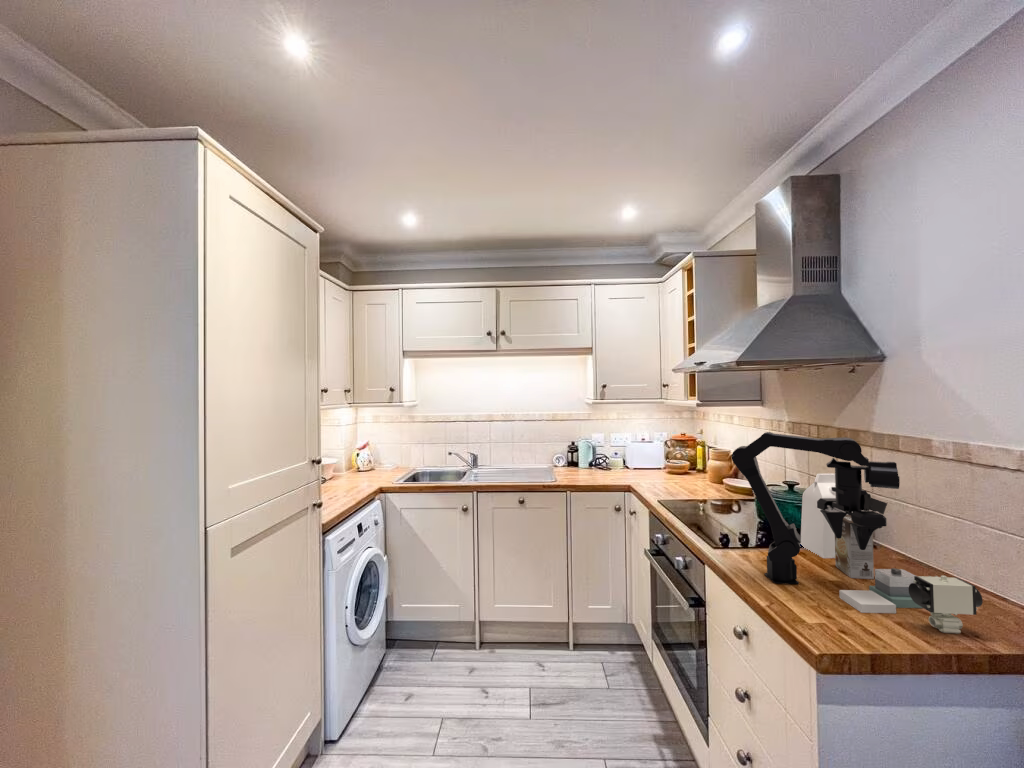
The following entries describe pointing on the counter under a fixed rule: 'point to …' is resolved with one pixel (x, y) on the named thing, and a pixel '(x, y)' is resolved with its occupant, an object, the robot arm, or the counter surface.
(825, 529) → the milk
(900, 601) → the stand
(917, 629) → the counter surface
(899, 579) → the block
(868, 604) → the stand
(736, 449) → the robot arm
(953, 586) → the pneumatic valve
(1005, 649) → the counter surface
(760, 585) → the counter surface
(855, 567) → the coffee box
